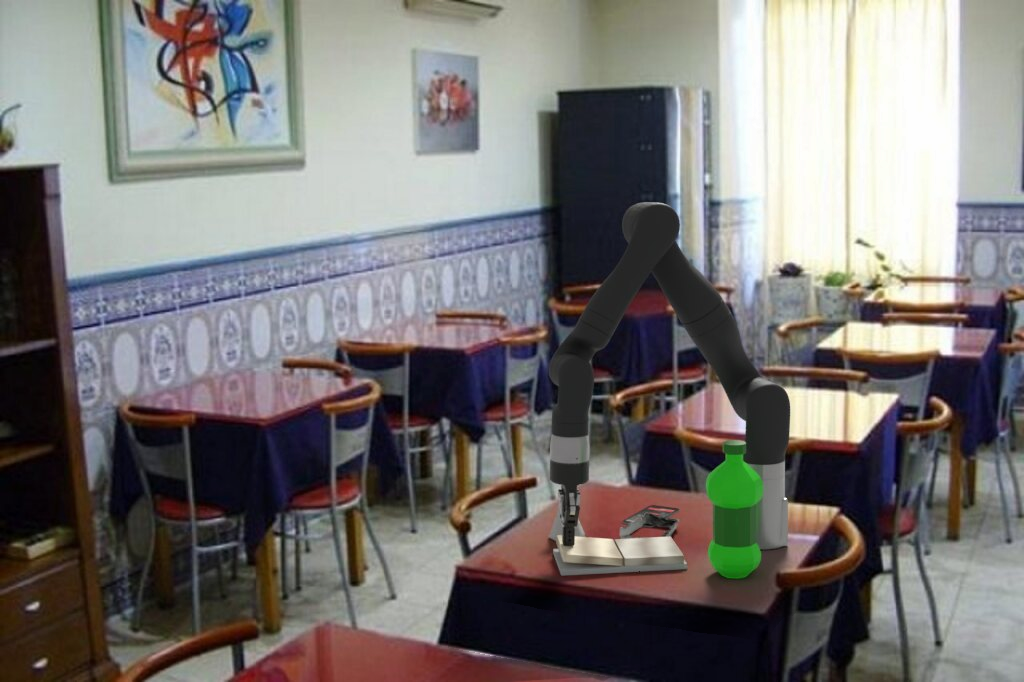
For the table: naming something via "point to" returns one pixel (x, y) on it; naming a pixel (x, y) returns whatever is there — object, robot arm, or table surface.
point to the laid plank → (649, 551)
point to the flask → (558, 528)
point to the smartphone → (654, 509)
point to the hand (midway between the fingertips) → (568, 544)
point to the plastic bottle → (734, 513)
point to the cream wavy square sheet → (590, 551)
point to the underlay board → (608, 567)
